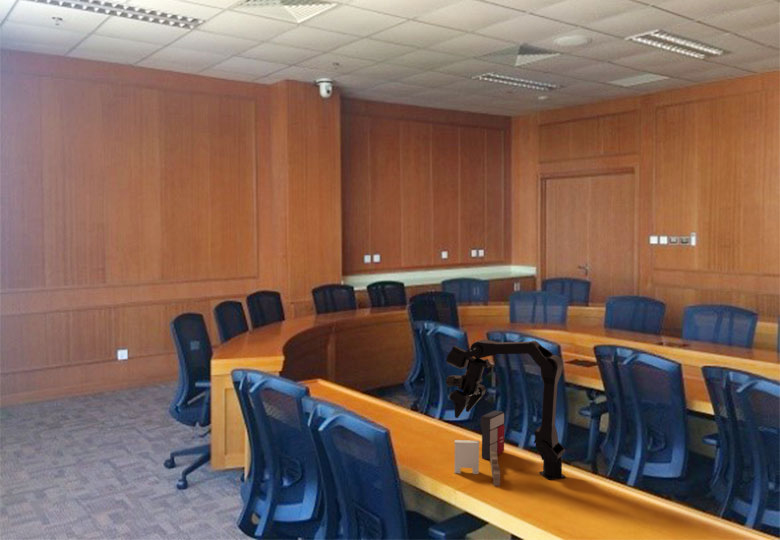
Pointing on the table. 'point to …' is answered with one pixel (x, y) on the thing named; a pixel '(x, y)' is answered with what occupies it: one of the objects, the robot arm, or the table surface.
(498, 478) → the slotted beam
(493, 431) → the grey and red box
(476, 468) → the notched plate
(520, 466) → the table surface
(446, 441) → the table surface
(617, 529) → the table surface
